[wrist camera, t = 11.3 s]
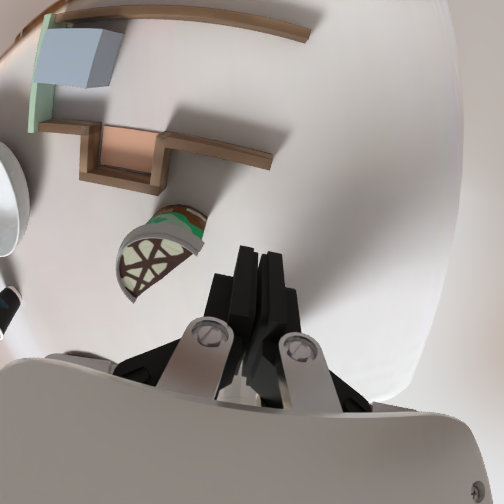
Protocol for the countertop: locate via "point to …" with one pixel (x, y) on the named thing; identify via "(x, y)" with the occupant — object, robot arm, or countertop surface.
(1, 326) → the dixie cup
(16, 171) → the serving bowl
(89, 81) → the block
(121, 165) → the tile
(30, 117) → the end wall
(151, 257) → the food container
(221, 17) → the channel walls
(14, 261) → the countertop surface
